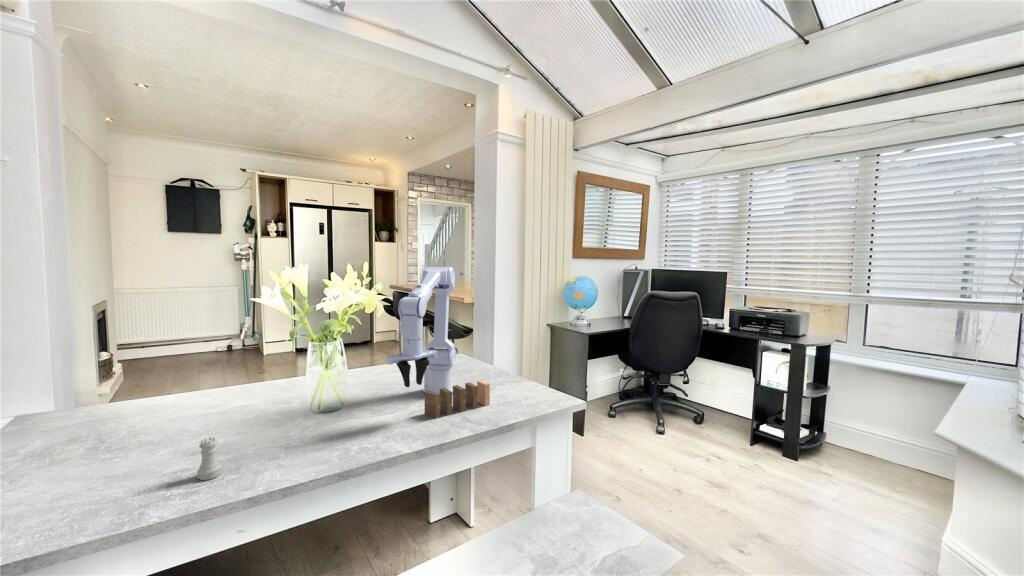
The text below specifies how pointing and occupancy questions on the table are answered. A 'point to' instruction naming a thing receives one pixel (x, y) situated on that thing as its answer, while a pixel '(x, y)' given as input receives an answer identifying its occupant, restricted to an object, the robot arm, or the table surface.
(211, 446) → the rook chess piece
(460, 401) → the domino
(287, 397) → the table surface
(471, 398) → the domino
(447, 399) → the domino
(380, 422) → the table surface
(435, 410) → the domino
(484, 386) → the domino
